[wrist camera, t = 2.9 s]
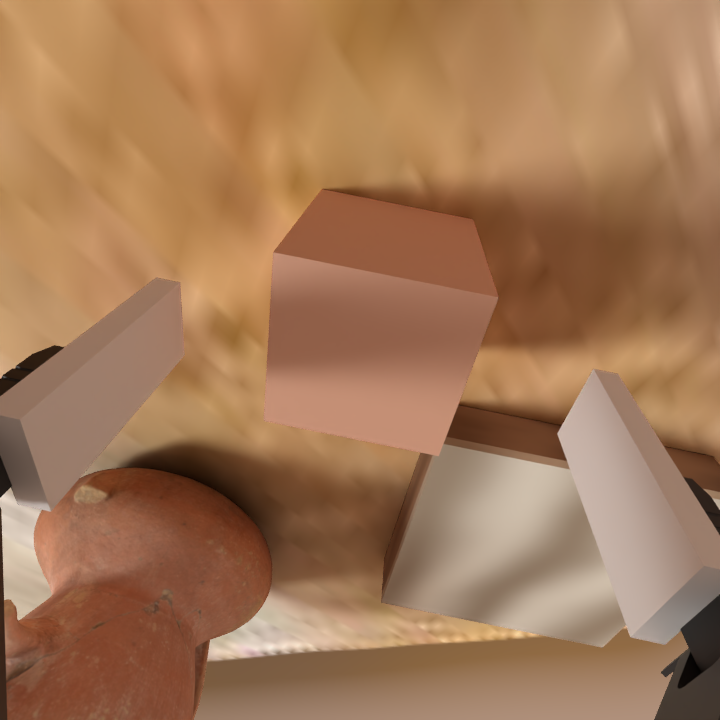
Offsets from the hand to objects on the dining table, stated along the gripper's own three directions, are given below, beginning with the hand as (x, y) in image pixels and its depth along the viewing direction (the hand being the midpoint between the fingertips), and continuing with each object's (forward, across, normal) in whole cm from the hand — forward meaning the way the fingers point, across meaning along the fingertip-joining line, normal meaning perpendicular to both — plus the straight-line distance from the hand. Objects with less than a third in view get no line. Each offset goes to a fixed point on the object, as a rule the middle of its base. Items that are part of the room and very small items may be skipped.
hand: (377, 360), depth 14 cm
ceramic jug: (+6, -10, -20) cm, 24 cm away
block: (+6, 0, 0) cm, 6 cm away
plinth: (+6, +11, -12) cm, 18 cm away
